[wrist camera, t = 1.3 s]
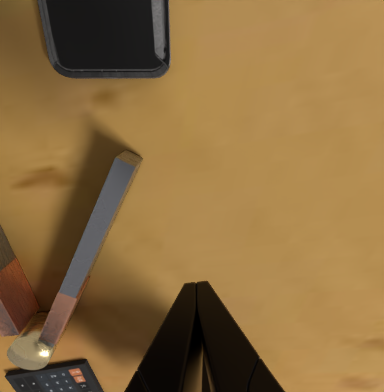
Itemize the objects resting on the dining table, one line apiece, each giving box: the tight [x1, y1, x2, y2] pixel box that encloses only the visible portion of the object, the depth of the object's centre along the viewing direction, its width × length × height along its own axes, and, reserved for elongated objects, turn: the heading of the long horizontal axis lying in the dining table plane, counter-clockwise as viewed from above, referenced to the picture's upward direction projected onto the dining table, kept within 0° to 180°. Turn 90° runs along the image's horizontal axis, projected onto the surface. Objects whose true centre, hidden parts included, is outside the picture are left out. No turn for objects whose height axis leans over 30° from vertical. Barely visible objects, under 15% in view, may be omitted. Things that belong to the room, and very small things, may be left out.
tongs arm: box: [7, 150, 143, 370], centre depth 20 cm, size 22×4×3 cm, turn 152°
